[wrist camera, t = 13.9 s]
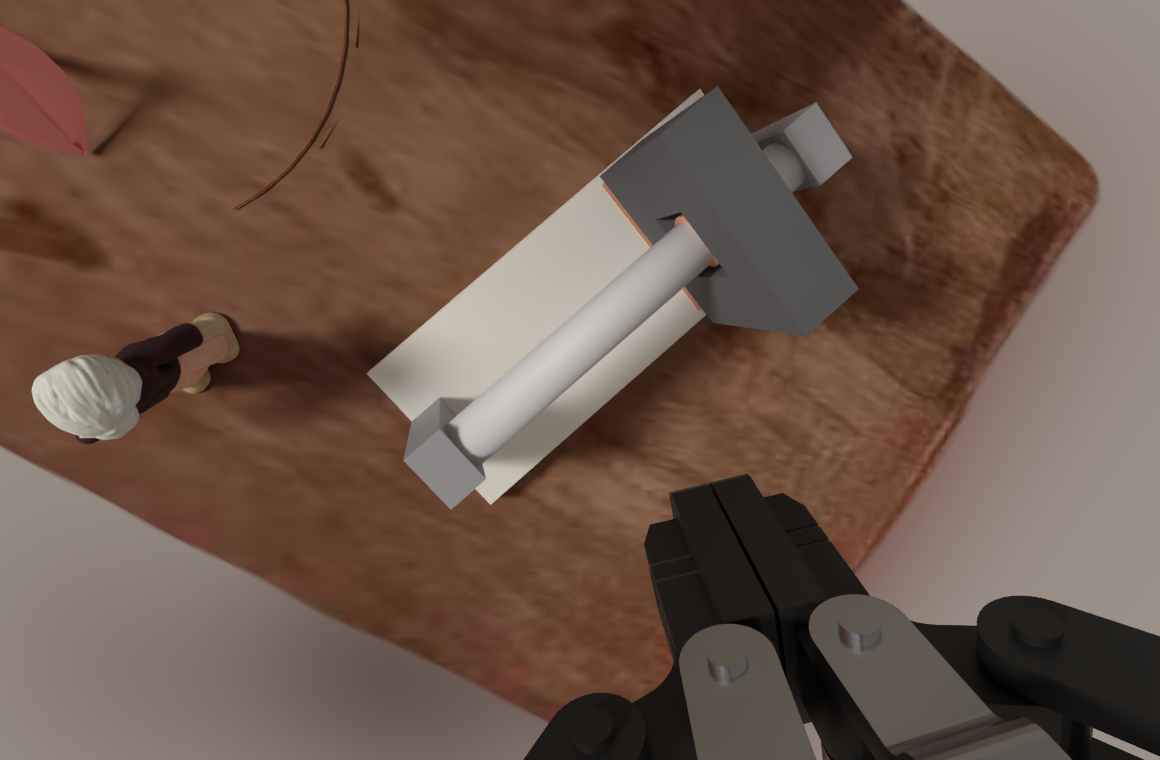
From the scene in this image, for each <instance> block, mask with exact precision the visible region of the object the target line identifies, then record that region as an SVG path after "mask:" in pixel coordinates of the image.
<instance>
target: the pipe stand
mask: <svg viewBox="0 0 1160 760" xmlns="http://www.w3.org/2000/svg"><path fill="white" fill-rule="evenodd" d="M703 96H704V94H703V92H702V91H701V89H699V90H698V91H697V92H695V93H694V94H693V95H691V96H690V97H689V98H688V99H686V100H685V101H684V102H683V103H682V104H681V105H679V106H678V107H677V108H676V109H675V110H674V111H672V112H671V113H670V114H669V115H668V116H667V117H665V118H664V119H663V120H662V121H661V122H659V123H658V124H657V125H656V126H655V127H654V128H652V129H651V130H650V131H649V132H648V133H647V134H645V135H644V136H643V137H642V138H641V139H640V140H638V141H637V142H636V143H635V144H634V145H633V146H631V147H630V148H629V149H628V150H627V151H626V152H624V153H623V154H622V155H621V156H620V157H619V158H617V159H616V160H615V161H614V162H613V163H611V164H610V165H609V166H608V167H607V168H606V169H604V170H603V171H602V172H601V173H600V174H599V175H597V176H596V177H595V178H594V179H593V180H592V181H590V182H589V183H588V184H587V185H586V186H585V187H583V188H582V189H581V190H580V191H579V192H578V193H576V194H575V195H574V196H573V197H572V198H571V199H569V200H568V201H567V202H566V203H565V204H563V205H562V206H561V207H560V208H559V209H558V210H556V211H555V212H554V213H553V214H552V215H551V216H549V217H548V218H547V219H546V220H545V221H544V222H542V223H541V224H540V225H539V226H538V227H537V228H535V229H534V230H533V231H532V232H531V233H530V234H528V235H527V236H526V237H525V238H524V239H523V240H521V241H520V242H519V243H518V244H517V245H515V246H514V247H513V248H512V249H511V250H510V251H508V252H507V253H506V254H505V255H504V256H503V257H501V258H500V259H499V260H498V261H497V262H496V263H494V264H493V265H492V266H491V267H490V268H489V269H487V270H486V271H485V272H484V273H483V274H482V275H480V276H479V277H478V278H477V279H476V280H475V281H473V282H472V283H471V284H470V285H469V286H467V287H466V288H465V289H464V290H463V291H462V292H460V293H459V294H458V295H457V296H456V297H455V298H453V299H452V300H451V301H450V302H449V303H448V304H446V305H445V306H444V307H443V308H442V309H441V310H439V311H438V312H437V313H436V314H435V315H434V316H432V317H431V318H430V319H429V320H428V321H427V322H425V323H424V324H423V325H422V326H421V327H419V328H418V329H417V330H416V331H415V332H414V333H412V334H411V335H410V336H409V337H408V338H407V339H405V340H404V341H403V342H402V343H401V344H400V345H398V346H397V347H396V348H395V349H394V350H393V351H391V352H390V353H389V354H388V355H387V356H386V357H384V358H383V359H382V360H381V361H380V362H379V363H377V364H376V365H375V366H374V367H373V368H371V369H370V370H369V371H368V373H367V375H368V376H369V377H370V378H371V379H372V380H373V381H374V382H375V383H376V384H377V385H378V386H379V387H380V388H381V389H382V391H383V392H384V393H385V394H386V395H387V396H388V397H389V398H390V399H391V400H392V401H393V402H394V403H395V404H396V405H397V406H398V407H399V409H400V410H401V411H402V412H403V413H404V414H405V415H406V416H407V417H408V418H409V419H410V420H411V421H412V423H411V427H410V432H409V437H408V441H407V446H406V451H405V456H404V461H405V463H406V464H407V465H408V466H409V467H410V468H411V469H412V470H413V471H414V472H415V473H416V474H417V475H418V476H419V477H420V478H421V479H422V480H423V481H424V482H425V483H426V484H427V485H428V486H429V487H430V488H431V489H432V490H433V491H434V493H435V494H436V495H437V496H438V497H439V498H440V499H441V500H442V501H443V502H444V503H445V504H446V505H447V506H448V507H449V508H450V509H452V508H454V507H455V506H456V505H457V504H458V503H459V502H460V501H462V500H463V499H464V498H465V497H466V496H467V495H468V494H469V493H471V492H472V491H473V490H474V489H476V490H477V491H478V492H479V493H480V494H481V495H482V496H483V497H484V498H485V499H486V501H487V502H488V503H489V504H490V505H491V504H492V503H493V502H494V501H496V500H497V499H498V498H499V497H500V496H501V495H502V494H503V493H505V492H506V491H507V490H508V489H509V488H510V487H511V486H513V485H514V484H515V483H516V482H517V481H518V480H519V479H520V478H522V477H523V476H524V475H525V474H526V473H527V472H528V471H530V470H531V469H532V468H533V467H534V466H535V465H536V464H538V463H539V462H540V461H541V460H542V459H543V458H544V457H545V456H547V455H548V454H549V453H550V452H551V451H552V450H553V449H555V448H556V447H557V446H558V445H559V444H560V443H561V442H562V441H564V440H565V439H566V438H567V437H568V436H569V435H570V434H572V433H573V432H574V431H575V430H576V429H577V428H578V427H579V426H581V425H582V424H583V423H584V422H585V421H586V420H587V419H589V418H590V417H591V416H592V415H593V414H594V413H595V412H597V411H598V410H599V409H600V408H601V407H602V406H603V405H604V404H606V403H607V402H608V401H609V400H610V399H611V398H612V397H614V396H615V395H616V394H617V393H618V392H619V391H620V390H621V389H623V388H624V387H625V386H626V385H627V384H628V383H629V382H631V381H632V380H633V379H634V378H635V377H636V376H637V375H638V374H640V373H641V372H642V371H643V370H644V369H645V368H646V367H648V366H649V365H650V364H651V363H652V362H653V361H654V360H656V359H657V358H658V357H659V356H660V355H661V354H662V353H663V352H665V351H666V350H667V349H668V348H669V347H670V346H671V345H673V344H674V343H675V342H676V341H677V340H678V339H679V338H680V337H682V336H683V335H684V334H685V333H686V332H687V331H688V330H690V329H691V328H692V327H693V326H694V325H695V324H696V323H698V322H699V321H700V320H701V319H702V318H703V317H704V316H705V315H706V314H705V312H704V311H703V310H702V308H701V307H700V306H699V305H698V303H697V302H696V301H695V299H694V298H693V297H692V296H691V294H690V293H689V292H688V290H687V289H686V288H685V286H686V285H687V284H688V283H689V282H690V281H692V280H693V279H694V278H695V277H696V276H697V275H698V274H700V273H701V272H702V271H703V270H704V269H705V268H706V267H708V266H712V267H715V266H717V265H718V264H719V263H718V261H717V260H716V259H715V257H714V256H713V255H712V253H711V252H710V251H709V249H708V248H707V247H706V245H705V244H704V243H703V241H702V240H701V239H700V237H699V236H698V235H697V233H696V232H695V231H694V229H693V228H692V227H691V225H690V224H689V223H688V221H687V220H686V219H685V217H684V216H683V215H682V214H680V215H679V216H678V217H677V218H676V219H675V227H674V228H673V229H671V230H670V231H669V232H668V233H667V234H666V235H664V236H663V237H662V238H661V239H660V240H659V241H658V242H656V243H655V244H654V245H652V244H651V242H650V241H649V240H648V238H647V237H646V236H645V235H644V233H643V232H642V231H641V229H640V228H639V227H638V225H637V224H636V223H635V222H634V220H633V219H632V218H631V216H630V215H629V214H628V213H627V211H626V210H625V209H624V207H623V206H622V205H621V203H620V202H619V201H618V200H617V198H616V197H615V196H614V194H613V193H612V192H611V190H610V189H609V188H608V187H607V185H606V184H605V183H604V181H603V180H602V179H601V178H600V175H601V174H603V173H604V172H605V171H606V170H607V169H608V168H610V167H611V166H612V165H613V164H614V163H616V162H617V161H618V160H619V159H620V158H621V157H623V156H624V155H625V154H626V153H627V152H628V151H630V150H631V149H632V148H633V147H634V146H635V145H637V144H638V143H639V142H640V141H641V140H642V139H644V138H645V137H647V136H648V135H649V134H651V133H652V132H654V131H655V130H656V129H658V128H659V127H661V126H662V125H663V124H665V123H666V122H668V121H669V120H670V119H672V118H673V117H675V116H676V115H677V114H679V113H680V112H682V111H683V110H684V109H686V108H687V107H689V106H690V105H691V104H693V103H694V102H696V101H697V100H698V99H700V98H701V97H703ZM751 135H752V136H753V138H754V139H755V140H756V142H757V143H758V145H759V146H760V148H761V149H762V150H763V152H764V153H765V155H766V156H767V158H768V159H769V161H770V162H771V163H772V165H773V166H774V168H775V169H776V171H777V172H778V173H779V175H780V176H781V178H782V179H783V181H784V182H785V183H786V185H787V186H788V188H789V189H790V191H791V192H792V193H793V192H797V191H801V190H804V189H808V188H812V187H816V186H820V185H821V184H823V183H824V182H825V181H826V180H827V179H828V178H829V177H831V176H832V175H833V174H834V173H835V172H836V171H837V170H839V169H840V168H841V167H842V166H843V165H844V164H845V163H847V162H848V161H849V160H850V159H851V158H852V156H851V154H850V153H849V151H848V149H847V148H846V146H845V145H844V143H843V142H842V140H841V139H840V137H839V136H838V134H837V133H836V131H835V130H834V128H833V127H832V125H831V124H830V122H829V121H828V119H827V118H826V116H825V115H824V113H823V112H822V110H821V109H820V107H819V106H818V104H817V103H814V104H812V105H810V106H807V107H805V108H803V109H801V110H799V111H797V112H795V113H793V114H791V115H789V116H787V117H785V118H783V119H781V120H779V121H776V122H774V123H772V124H770V125H768V126H766V127H764V128H762V129H760V130H758V131H756V132H754V133H752V134H751Z"/></svg>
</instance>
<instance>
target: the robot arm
mask: <svg viewBox="0 0 1160 760" xmlns="http://www.w3.org/2000/svg"><path fill="white" fill-rule="evenodd" d="M670 502H671V507H672V512H673V518H674V519H672V520H668V521H664V522H659V523H655V524H651V525H650V526H649V530H648V533H647V536H646V539H645V543H644V546H645V551H646V555H647V560H648V565H649V569H650V574H651V579H652V583H653V588H654V593H655V597H656V602H657V607H658V610H659V614H660V617H661V621H662V624H663V627H664V630H665V634H666V638H667V641H668V645H669V648H670V651H671V655H672V658H673V662H674V664H673V667H672V669H671V671H670V673H669V674H668V676H667V678H666V679H665V680H664V681H663V682H662V683H661V684H660V685H659V686H658V687H657V688H656V689H655V690H653V691H652V692H650V693H649V694H647V695H645V696H644V697H642V698H640V699H638V700H637V701H635V702H633V703H631V702H630V701H628V700H627V699H625V698H623V697H621V696H619V695H615V694H610V693H593V694H588V695H585V696H582V697H579V698H577V699H575V700H573V701H571V702H569V703H568V704H567V705H565V706H564V707H563V708H562V709H560V710H559V711H558V712H557V713H556V715H555V716H554V717H553V718H552V720H551V721H550V723H549V724H548V726H547V727H546V728H545V730H544V731H543V733H542V734H541V735H540V737H539V738H538V740H537V741H536V743H535V744H534V746H533V747H532V749H531V750H530V751H529V753H528V754H527V756H526V757H525V759H524V760H816V757H815V754H814V752H813V749H812V746H811V744H810V741H809V738H808V736H807V733H806V730H805V728H804V725H803V724H805V723H809V722H812V723H813V725H814V727H815V729H816V731H817V733H818V735H819V737H820V739H821V747H822V757H823V760H1144V759H1141V758H1139V757H1137V756H1134V755H1132V754H1130V753H1127V752H1125V751H1123V750H1121V749H1118V748H1116V747H1114V746H1111V745H1109V744H1107V743H1105V742H1102V741H1100V740H1098V739H1095V738H1093V737H1092V733H1093V728H1095V729H1097V730H1099V731H1102V732H1104V733H1106V734H1109V735H1111V736H1113V737H1116V738H1118V739H1120V740H1123V741H1125V742H1127V743H1130V744H1132V745H1135V746H1137V747H1139V748H1141V749H1144V750H1146V751H1148V752H1151V753H1154V754H1155V755H1158V756H1160V636H1157V635H1154V634H1151V633H1148V632H1145V631H1142V630H1139V629H1136V628H1133V627H1130V626H1127V625H1124V624H1120V623H1118V622H1115V621H1112V620H1109V619H1105V618H1102V617H1099V616H1096V615H1093V614H1090V613H1087V612H1084V611H1081V610H1078V609H1075V608H1072V607H1069V606H1066V605H1063V604H1060V603H1057V602H1054V601H1050V600H1047V599H1043V598H1038V597H1031V596H1009V597H1003V598H1000V599H996V600H994V601H992V602H990V603H988V604H987V605H986V606H984V607H983V609H982V610H981V611H980V613H979V615H978V617H977V626H963V625H962V626H961V625H931V624H923V623H917V622H913V621H910V620H909V619H908V618H907V617H906V616H905V614H903V613H902V612H901V611H900V610H899V609H898V608H897V607H895V606H894V605H892V604H890V603H888V602H886V601H884V600H881V599H879V598H876V597H872V596H870V595H869V594H868V592H867V591H866V589H865V588H864V587H863V586H862V584H861V583H860V581H859V580H858V578H857V577H856V576H855V574H854V573H853V571H852V570H851V569H850V567H849V566H848V565H847V563H846V562H845V561H844V559H843V558H842V556H841V555H840V554H839V552H838V551H837V550H836V548H835V547H834V545H833V544H832V543H831V542H829V540H828V537H827V536H826V534H825V533H824V532H823V530H822V529H821V528H820V527H818V523H817V522H816V521H815V519H814V518H813V517H812V515H811V514H810V512H809V511H808V510H807V508H806V507H805V506H804V505H802V504H801V503H799V502H797V501H795V500H794V499H792V498H790V497H788V496H787V495H785V494H783V493H781V494H777V495H773V496H769V497H763V496H762V494H761V493H760V491H759V490H758V488H757V486H756V485H755V483H754V482H753V480H752V479H751V477H750V476H749V475H748V474H745V475H740V476H736V477H732V478H728V479H723V480H719V481H715V482H711V483H709V485H708V484H703V485H699V486H694V487H690V488H686V489H682V490H677V491H673V492H670Z"/></svg>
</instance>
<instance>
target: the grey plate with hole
mask: <svg viewBox="0 0 1160 760" xmlns="http://www.w3.org/2000/svg"><path fill="white" fill-rule="evenodd" d="M600 178H601V179H602V180H603V181H604V183H605V184H606V185H607V187H608V188H609V189H610V190H611V192H612V193H613V194H614V196H615V197H616V198H617V200H618V201H619V202H620V203H621V205H622V206H623V207H624V209H625V210H626V211H627V213H628V214H629V215H630V216H631V218H632V219H633V220H634V222H635V223H636V224H637V225H638V227H639V228H640V229H641V231H642V232H643V233H644V235H645V236H646V237H647V238H648V240H649V241H650V242H651V244H652V245H654V244H655V243H656V242H658V241H659V240H660V239H661V238H662V237H663V236H664V235H666V234H667V233H668V232H669V231H670V230H671V229H673V228H674V227H675V219H676V218H677V217H678V216H679V215H680V214H682V215H683V216H684V217H685V219H686V220H687V221H688V223H689V224H690V225H691V227H692V228H693V229H694V231H695V232H696V233H697V235H698V236H699V237H700V239H701V240H702V241H703V243H704V244H705V245H706V247H707V248H708V249H709V251H710V252H711V253H712V255H713V256H714V257H715V259H716V260H717V261H718V263H719V264H718V265H717V266H715V267H712V266H708V267H706V268H705V269H704V270H703V271H702V272H701V273H700V274H698V275H697V276H696V277H695V278H694V279H693V280H692V281H690V282H689V283H688V284H687V285H686V286H685V288H686V289H687V290H688V292H689V293H690V294H691V296H692V297H693V298H694V299H695V301H696V302H697V303H698V305H699V306H700V307H701V308H702V310H703V311H704V312H705V314H706V315H707V316H708V318H709V319H710V320H711V321H712V323H717V324H724V325H731V326H738V327H745V328H752V329H759V330H766V331H772V332H779V333H786V334H793V335H800V336H807V335H808V334H809V333H810V332H811V331H812V330H813V329H815V328H816V327H817V326H818V325H819V324H820V323H821V322H822V321H823V320H825V319H826V318H827V317H828V316H829V315H830V314H831V313H832V312H834V311H835V310H836V309H837V308H838V307H839V306H840V305H841V304H842V303H844V302H845V301H846V300H847V299H848V298H849V297H850V296H851V295H853V294H854V293H855V292H856V291H857V290H858V289H859V288H858V287H857V286H856V284H855V283H854V281H853V280H852V278H851V277H850V275H849V274H848V273H847V271H846V270H845V268H844V267H843V265H842V264H841V263H840V261H839V260H838V258H837V257H836V255H835V254H834V252H833V251H832V250H831V248H830V247H829V245H828V244H827V242H826V241H825V240H824V238H823V237H822V235H821V234H820V232H819V231H818V229H817V228H816V227H815V225H814V224H813V222H812V221H811V219H810V218H809V217H808V215H807V214H806V212H805V211H804V209H803V208H802V206H801V205H800V204H799V202H798V201H797V199H796V198H795V196H794V195H793V194H792V192H791V191H790V189H789V188H788V186H787V185H786V183H785V182H784V181H783V179H782V178H781V176H780V175H779V173H778V172H777V171H776V169H775V168H774V166H773V165H772V163H771V162H770V161H769V159H768V158H767V156H766V155H765V153H764V152H763V150H762V149H761V148H760V146H759V145H758V143H757V142H756V140H755V139H754V138H753V136H752V135H751V133H750V132H749V130H748V129H747V127H746V126H745V125H744V123H743V122H742V120H741V119H740V117H739V116H738V115H737V113H736V112H735V110H734V109H733V107H732V106H731V104H730V103H729V102H728V100H727V99H726V97H725V96H724V94H723V93H722V92H721V90H720V89H719V87H718V86H717V87H715V88H714V89H712V90H711V91H710V92H708V93H707V94H705V95H704V96H703V97H701V98H700V99H698V100H697V101H696V102H694V103H693V104H691V105H690V106H689V107H687V108H686V109H684V110H683V111H682V112H680V113H679V114H677V115H676V116H675V117H673V118H672V119H670V120H669V121H668V122H666V123H665V124H663V125H662V126H661V127H659V128H658V129H656V130H655V131H654V132H652V133H651V134H649V135H648V136H647V137H645V138H644V139H642V140H641V141H640V142H639V143H638V144H637V145H635V146H634V147H633V148H632V149H631V150H630V151H628V152H627V153H626V154H625V155H624V156H623V157H621V158H620V159H619V160H618V161H617V162H616V163H614V164H613V165H612V166H611V167H610V168H608V169H607V170H606V171H605V172H604V173H603V174H601V175H600Z"/></svg>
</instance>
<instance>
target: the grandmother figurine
mask: <svg viewBox="0 0 1160 760" xmlns="http://www.w3.org/2000/svg"><path fill="white" fill-rule="evenodd" d="M239 349H240V348H239V344H238V342H237V340H236V337H235V335H234V333H233V331H232V329H231V327H230V325H229V323H228V321H227V320H226V318H224V317H223V316H222V315H220V314H218V313H213V312H210V313H205V314H202V315H200V316H198V317H197V318H196V319H194V321H193V322H191V323H186V324H182V325H179V326H176V327H174V328H172V329H170V330H168V331H166V332H164V333H161V334H159V335H157V336H155V337H151V338H149V339H146V340H144V341H140V342H137V343H132V344H129V345H127V346H125V347H124V348H123V349H122V350H121V351H120V352H119V353H118V354H117V355H116V356H115V357H113V356H109V355H104V354H90V355H81V356H77V357H75V358H72V359H69V360H66V361H63V362H61V363H60V364H58V365H55V366H54V367H53V368H51V369H50V370H48V371H46V372H44V373H43V374H41V375H40V376H38V377H37V378H36V379H35V381H34V383H33V387H32V394H33V399H34V402H35V405H36V406H37V408H38V409H39V410H40V411H41V413H42V414H43V415H44V416H45V417H46V419H47V420H49V421H50V422H51V423H52V424H54V425H55V426H56V427H58V428H59V429H61V430H64V431H67V432H69V433H72V434H75V436H76V438H77V439H78V441H79V442H81V443H83V444H92V443H97V442H101V441H103V440H110V439H118V438H121V437H123V436H124V435H125V434H126V433H127V432H128V431H129V430H131V429H132V428H133V427H134V426H135V425H136V424H137V422H138V420H139V414H141V413H143V412H145V411H147V410H148V409H150V408H151V407H153V406H154V405H156V404H157V403H159V402H161V401H162V400H164V399H165V398H167V397H168V395H169V394H170V393H172V392H175V391H178V390H184V391H186V392H188V393H192V394H196V393H199V392H201V391H203V390H204V389H205V388H206V387H207V386H208V384H209V383H210V380H211V376H210V373H209V371H208V370H207V369H208V368H209V366H210V365H213V364H215V363H227V362H229V361H231V360H233V359H234V358H235V357H236V356H237V355H238V353H239Z"/></svg>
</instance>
